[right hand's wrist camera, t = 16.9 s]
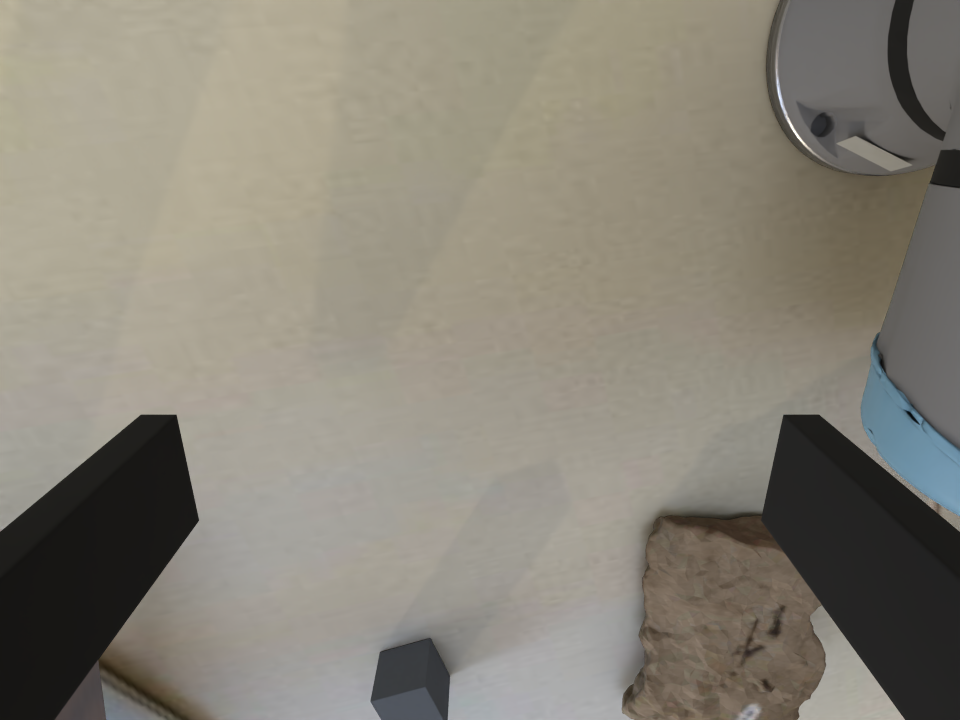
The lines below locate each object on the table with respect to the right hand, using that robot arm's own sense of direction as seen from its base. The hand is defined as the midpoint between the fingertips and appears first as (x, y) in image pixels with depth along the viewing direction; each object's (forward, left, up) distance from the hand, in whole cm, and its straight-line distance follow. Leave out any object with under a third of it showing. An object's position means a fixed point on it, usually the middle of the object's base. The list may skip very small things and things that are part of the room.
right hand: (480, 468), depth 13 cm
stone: (-20, +32, -29) cm, 47 cm away
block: (+6, +39, -29) cm, 49 cm away
